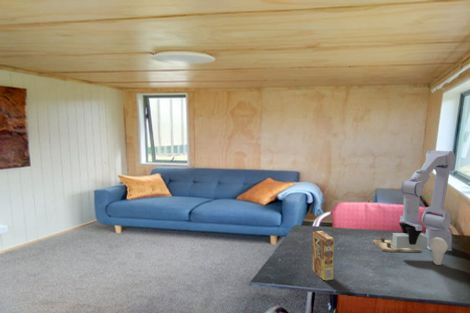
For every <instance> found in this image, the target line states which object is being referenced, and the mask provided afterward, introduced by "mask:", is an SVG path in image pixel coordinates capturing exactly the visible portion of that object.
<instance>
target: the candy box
mask: <svg viewBox="0 0 470 313" xmlns="http://www.w3.org/2000/svg"><path fill="white" fill-rule="evenodd" d="M334 242H335V238H334V237H333V236H330V235H329V234H327V233H326V232H325V231H323V230H316V231H312V271H313V272H314V273H315V275H317V276H318V277H319V278H320V279H321V278H322V279H323V280H325V281H331V280H334V261H335V259H334V253H335V250H334V249H335V247H334V246H335V244H334ZM322 279H321V280H322ZM323 280H322V281H323Z"/></svg>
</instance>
